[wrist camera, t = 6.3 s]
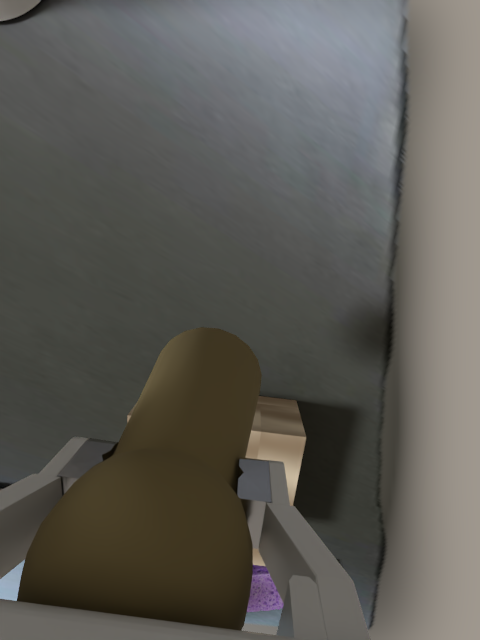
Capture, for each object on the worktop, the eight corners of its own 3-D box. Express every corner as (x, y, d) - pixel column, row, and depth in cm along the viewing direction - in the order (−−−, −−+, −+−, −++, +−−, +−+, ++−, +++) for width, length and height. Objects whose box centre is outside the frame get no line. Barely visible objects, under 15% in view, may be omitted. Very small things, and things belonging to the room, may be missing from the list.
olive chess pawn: (282, 362, 15) (346, 646, 5) (227, 439, 17) (180, 780, 6) (186, 306, 15) (4, 484, 4) (138, 392, 16) (-82, 680, 6)
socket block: (151, 383, 30) (127, 415, 25) (296, 400, 30) (306, 437, 24) (149, 497, 35) (128, 548, 29) (276, 513, 34) (280, 568, 28)
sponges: (334, 590, 38) (338, 607, 36) (245, 598, 39) (244, 615, 37) (328, 552, 36) (332, 568, 34) (234, 562, 37) (234, 578, 36)
